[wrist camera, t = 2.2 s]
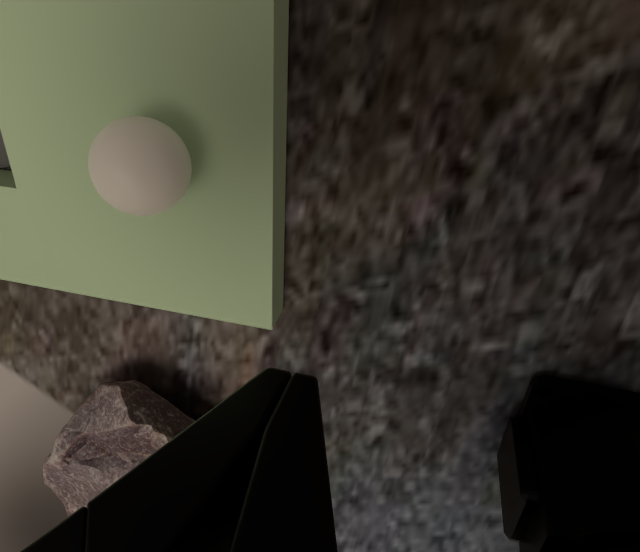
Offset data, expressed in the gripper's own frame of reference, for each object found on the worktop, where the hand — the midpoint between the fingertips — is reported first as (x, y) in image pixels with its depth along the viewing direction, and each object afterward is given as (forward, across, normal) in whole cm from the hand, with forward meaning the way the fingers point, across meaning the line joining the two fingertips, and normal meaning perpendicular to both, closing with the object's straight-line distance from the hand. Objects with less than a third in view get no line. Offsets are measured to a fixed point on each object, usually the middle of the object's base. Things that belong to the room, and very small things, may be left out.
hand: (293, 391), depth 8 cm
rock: (+13, +14, +19) cm, 27 cm away
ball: (+8, +8, 0) cm, 11 cm away
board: (+12, +12, 0) cm, 17 cm away
